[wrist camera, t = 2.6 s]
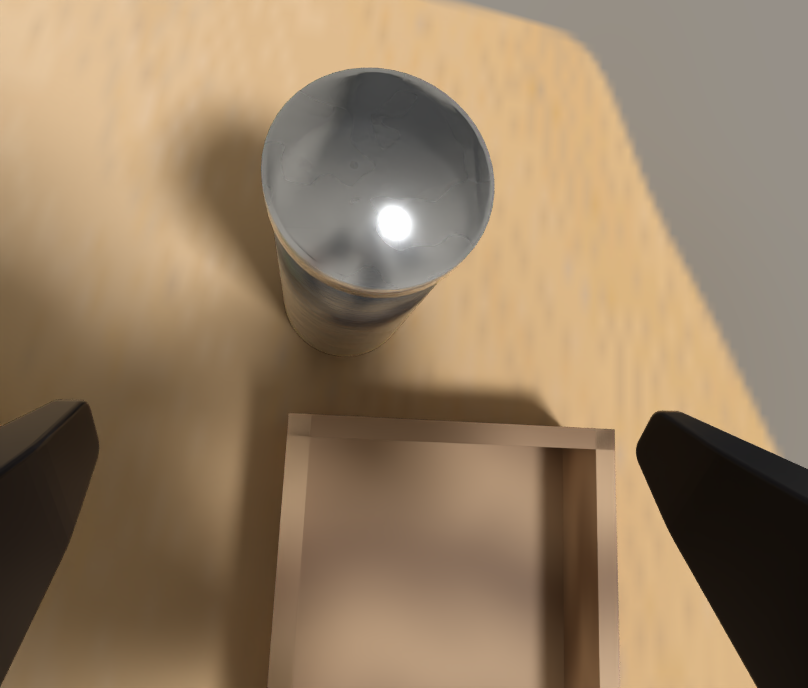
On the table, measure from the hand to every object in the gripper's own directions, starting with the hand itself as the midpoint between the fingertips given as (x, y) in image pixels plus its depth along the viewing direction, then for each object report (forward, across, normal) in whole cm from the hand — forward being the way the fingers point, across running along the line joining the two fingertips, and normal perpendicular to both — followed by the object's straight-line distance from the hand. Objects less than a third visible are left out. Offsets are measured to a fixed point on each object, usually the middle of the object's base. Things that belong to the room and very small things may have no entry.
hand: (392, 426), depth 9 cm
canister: (+13, 0, -5) cm, 14 cm away
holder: (+5, +3, -12) cm, 14 cm away
